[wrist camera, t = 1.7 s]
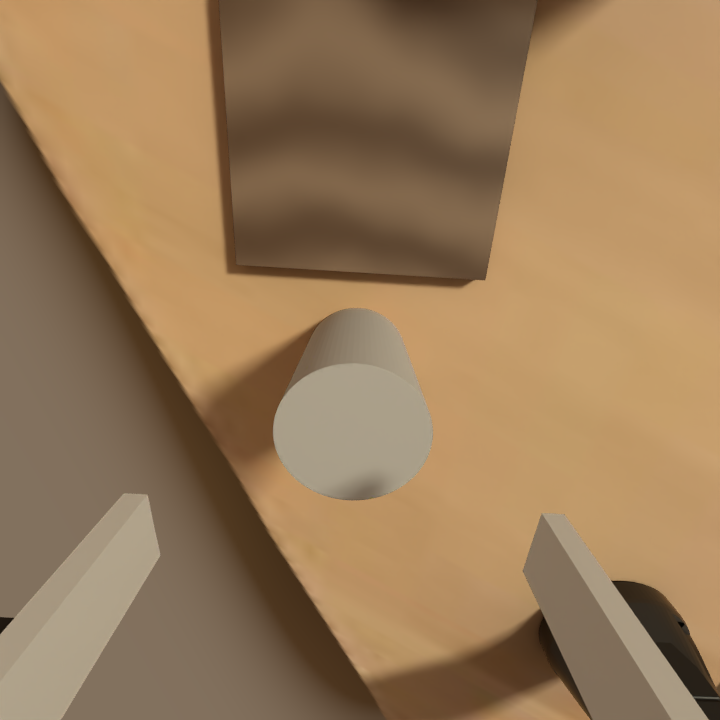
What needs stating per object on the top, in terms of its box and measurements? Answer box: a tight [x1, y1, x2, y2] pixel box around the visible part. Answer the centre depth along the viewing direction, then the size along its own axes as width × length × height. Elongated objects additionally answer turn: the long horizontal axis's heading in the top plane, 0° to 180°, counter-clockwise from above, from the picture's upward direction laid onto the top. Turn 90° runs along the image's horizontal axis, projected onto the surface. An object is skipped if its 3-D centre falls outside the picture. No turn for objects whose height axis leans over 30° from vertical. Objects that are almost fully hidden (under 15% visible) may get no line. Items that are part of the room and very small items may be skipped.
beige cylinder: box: [273, 308, 433, 500], centre depth 23 cm, size 8×8×12 cm
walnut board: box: [219, 0, 537, 280], centre depth 23 cm, size 16×18×2 cm
